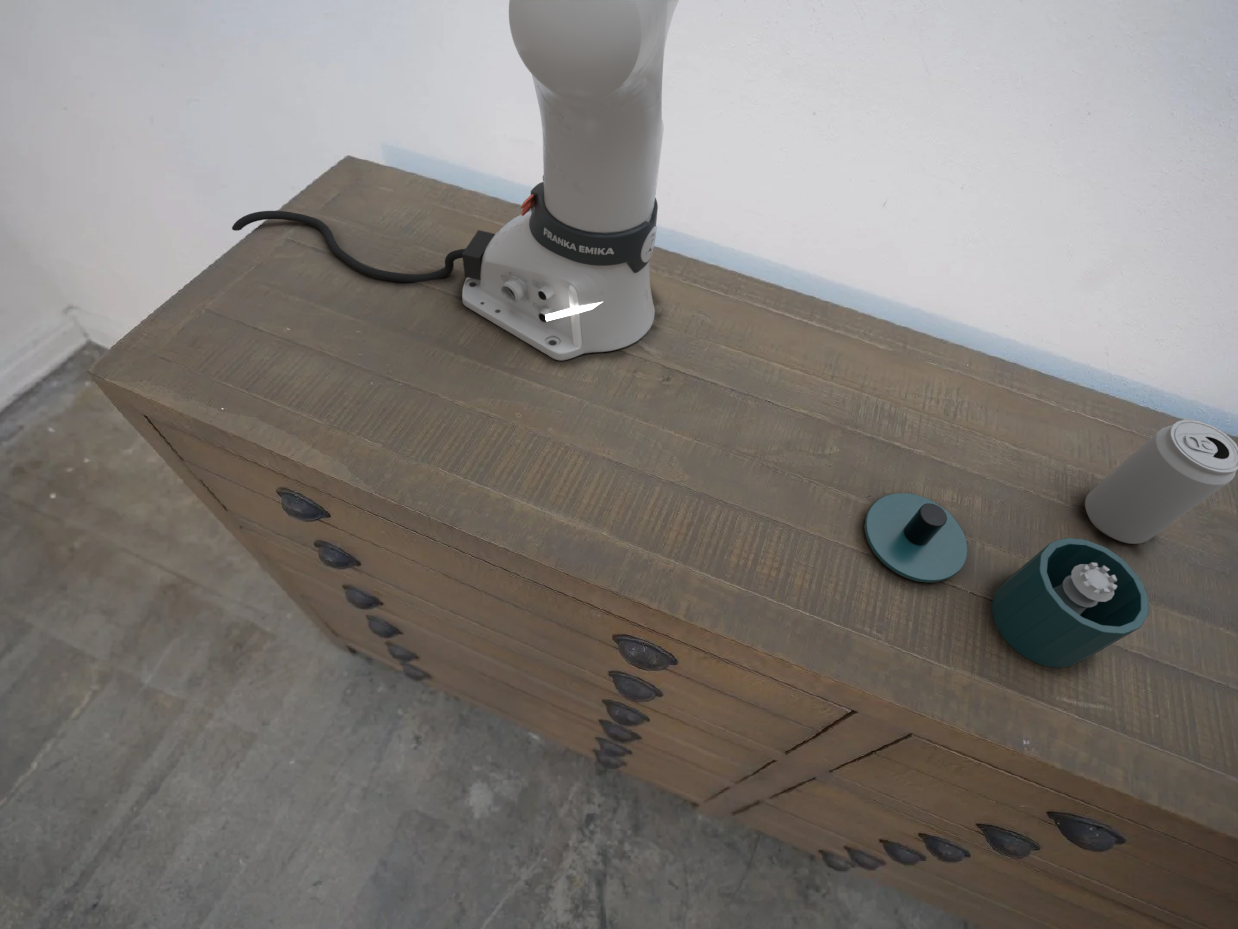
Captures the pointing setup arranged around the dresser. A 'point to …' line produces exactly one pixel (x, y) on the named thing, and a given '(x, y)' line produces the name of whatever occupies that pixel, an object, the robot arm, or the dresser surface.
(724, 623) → the dresser surface
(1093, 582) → the rook chess piece
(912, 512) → the pot lid
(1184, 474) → the beverage can
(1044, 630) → the pot
